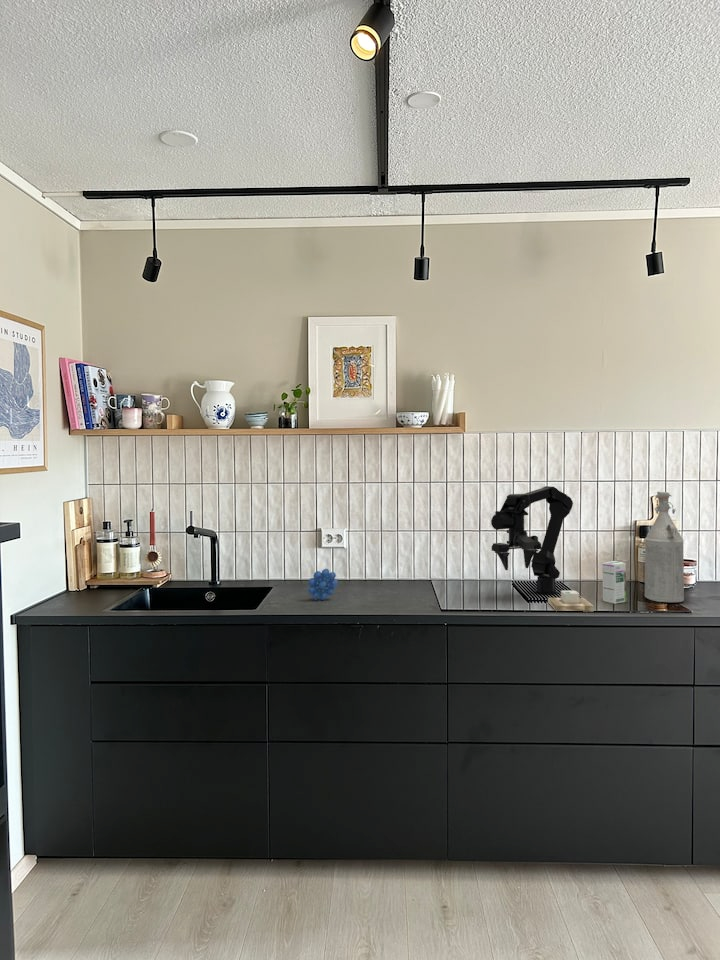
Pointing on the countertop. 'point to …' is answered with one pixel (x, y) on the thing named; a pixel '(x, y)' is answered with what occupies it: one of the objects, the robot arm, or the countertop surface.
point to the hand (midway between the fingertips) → (516, 569)
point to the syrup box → (614, 582)
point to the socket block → (571, 605)
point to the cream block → (569, 597)
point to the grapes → (322, 584)
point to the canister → (664, 557)
